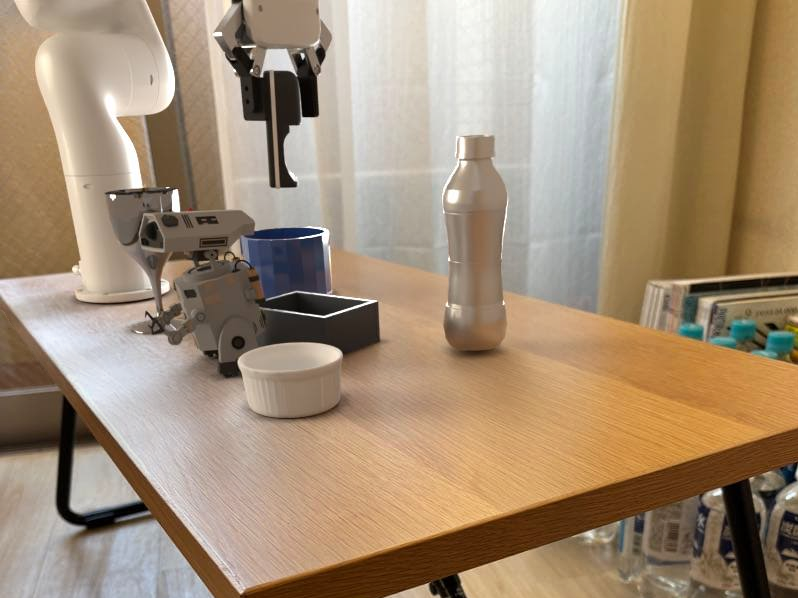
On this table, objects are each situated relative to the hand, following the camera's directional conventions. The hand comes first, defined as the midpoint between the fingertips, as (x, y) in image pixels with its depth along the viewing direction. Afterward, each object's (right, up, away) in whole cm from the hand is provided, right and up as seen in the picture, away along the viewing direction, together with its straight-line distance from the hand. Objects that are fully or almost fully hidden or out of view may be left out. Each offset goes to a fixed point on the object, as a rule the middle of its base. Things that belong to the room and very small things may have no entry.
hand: (282, 117), depth 95 cm
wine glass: (-16, -20, +11) cm, 28 cm away
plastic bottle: (+20, -26, -3) cm, 33 cm away
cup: (-2, -13, +24) cm, 27 cm away
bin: (+3, -24, +1) cm, 24 cm away
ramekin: (+4, -33, -18) cm, 38 cm away
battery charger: (0, -6, +3) cm, 7 cm away
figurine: (-6, -28, -6) cm, 29 cm away
